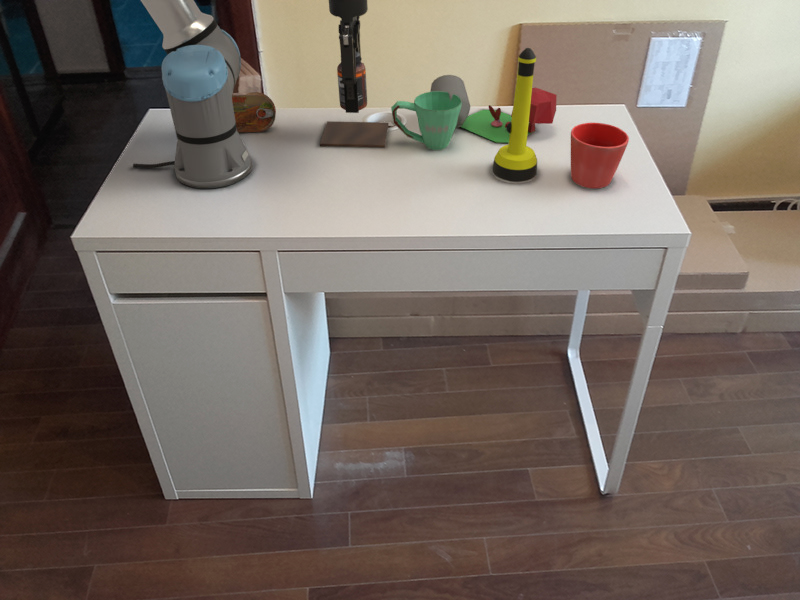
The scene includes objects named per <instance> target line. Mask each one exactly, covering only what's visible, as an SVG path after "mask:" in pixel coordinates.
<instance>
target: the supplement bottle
mask: <svg viewBox="0 0 800 600" xmlns="http://www.w3.org/2000/svg"><path fill="white" fill-rule="evenodd" d="M363 63H364V62H362V60H361V61H360V53H358V52H356V80H357V86H358V105H359V111H361V110H364V109H365V108H367V106H368V89H367V71H366V65H365V63H364V64H363ZM336 75H337V86H338V98H339V99H338V100H339V107H340V108H341V109H342V110H344V111H346V109H345V94H344V84H340V80H342V68H341V62H340V63H338V65H337V68H336Z"/></svg>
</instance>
